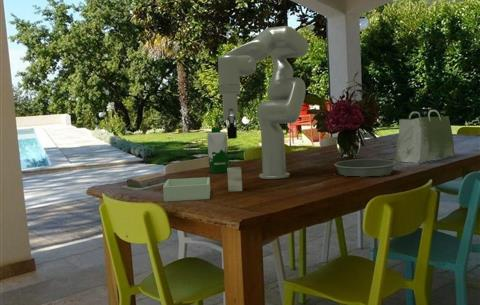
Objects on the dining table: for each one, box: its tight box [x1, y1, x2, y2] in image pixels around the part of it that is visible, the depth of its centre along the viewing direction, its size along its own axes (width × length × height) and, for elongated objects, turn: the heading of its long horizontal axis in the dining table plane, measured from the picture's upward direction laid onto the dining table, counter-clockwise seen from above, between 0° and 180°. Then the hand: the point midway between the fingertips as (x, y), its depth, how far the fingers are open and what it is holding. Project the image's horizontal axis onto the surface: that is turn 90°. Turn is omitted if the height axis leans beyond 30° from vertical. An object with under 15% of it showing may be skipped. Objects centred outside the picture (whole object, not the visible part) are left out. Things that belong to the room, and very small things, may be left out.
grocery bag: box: [393, 109, 455, 163], centre depth 247 cm, size 32×14×23 cm, turn 131°
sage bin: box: [162, 176, 211, 202], centre depth 189 cm, size 16×16×5 cm
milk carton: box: [206, 127, 229, 175], centre depth 240 cm, size 9×9×20 cm
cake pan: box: [333, 158, 397, 178], centre depth 218 cm, size 25×25×4 cm
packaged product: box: [121, 172, 168, 192], centre depth 213 cm, size 18×5×10 cm
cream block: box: [226, 166, 243, 192], centre depth 195 cm, size 5×5×8 cm
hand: (232, 137), depth 193 cm, fingers open, 9 cm apart
